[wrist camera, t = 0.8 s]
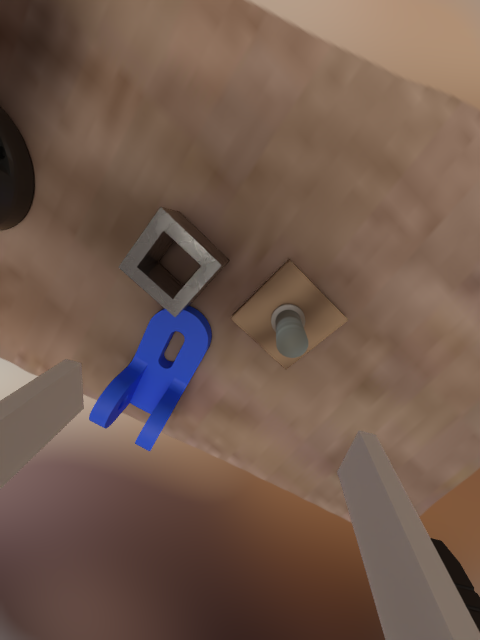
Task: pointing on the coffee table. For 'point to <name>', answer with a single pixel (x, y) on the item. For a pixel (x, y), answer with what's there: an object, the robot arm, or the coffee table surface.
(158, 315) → the bracket
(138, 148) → the coffee table surface
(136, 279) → the gray square frame
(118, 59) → the coffee table surface
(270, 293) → the peg stand
